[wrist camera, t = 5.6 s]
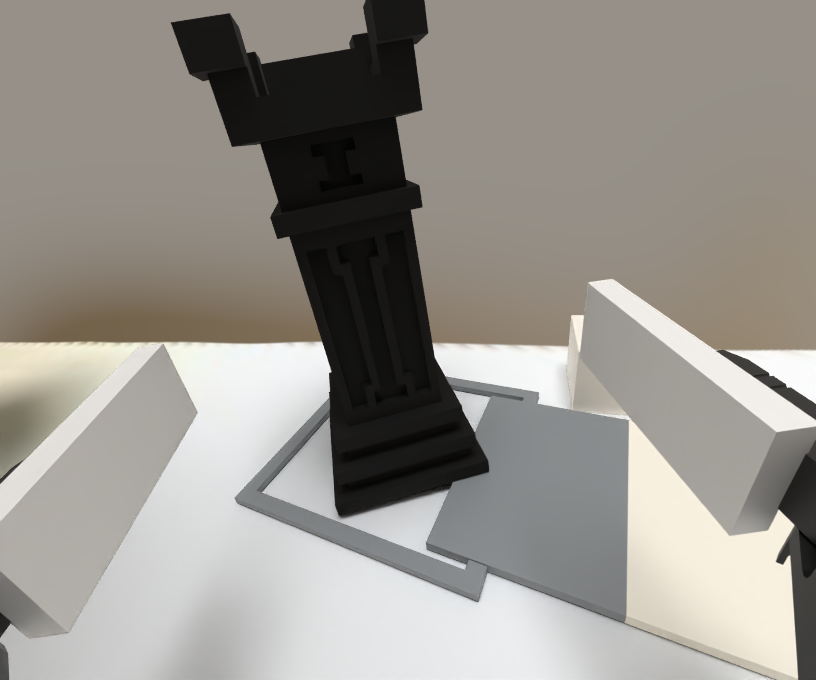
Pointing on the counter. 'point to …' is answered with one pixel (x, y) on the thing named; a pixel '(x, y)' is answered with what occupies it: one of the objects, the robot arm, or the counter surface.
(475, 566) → the grey flat square frame
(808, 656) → the robot arm
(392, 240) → the chess piece
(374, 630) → the counter surface
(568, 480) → the track
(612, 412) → the die
